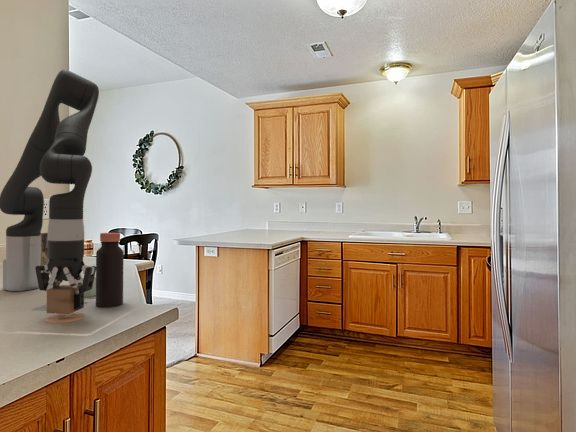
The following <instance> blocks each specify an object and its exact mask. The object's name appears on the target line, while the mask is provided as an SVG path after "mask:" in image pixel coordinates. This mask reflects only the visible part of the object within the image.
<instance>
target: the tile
mask: <svg viewBox="0 0 576 432" xmlns="http://www.w3.org/2000/svg"><path fill="white" fill-rule="evenodd" d="M89 303H90V301H84V306H86V305H87V304H89ZM31 311H38V312H39V311H41V312H47V303H46V304H44V305H41V306H37V307H35V308H33V309H31Z"/></svg>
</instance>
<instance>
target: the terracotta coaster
mask: <svg viewBox="0 0 576 432" xmlns="http://www.w3.org/2000/svg"><path fill="white" fill-rule="evenodd" d="M84 318H85V313H83V312H78V311H75V312H73V313H71V314H51V315H50V316H47V317H46V318H45V321H46V322H47V323H51V324H63V323H70V322H75V321H79V320H81V319H84Z"/></svg>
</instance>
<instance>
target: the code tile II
mask: <svg viewBox="0 0 576 432" xmlns="http://www.w3.org/2000/svg"><path fill="white" fill-rule="evenodd" d="M84 300H96V295H94V296H92V297H84Z"/></svg>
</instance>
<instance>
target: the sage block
mask: <svg viewBox="0 0 576 432" xmlns="http://www.w3.org/2000/svg"><path fill="white" fill-rule="evenodd" d="M81 276H82V279H84V274H81ZM75 281H76V279H75ZM94 295H96V274H95V277H94V282H93V287H92V289H91V290H88V291H86V292H84V297H92V296H94Z"/></svg>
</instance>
